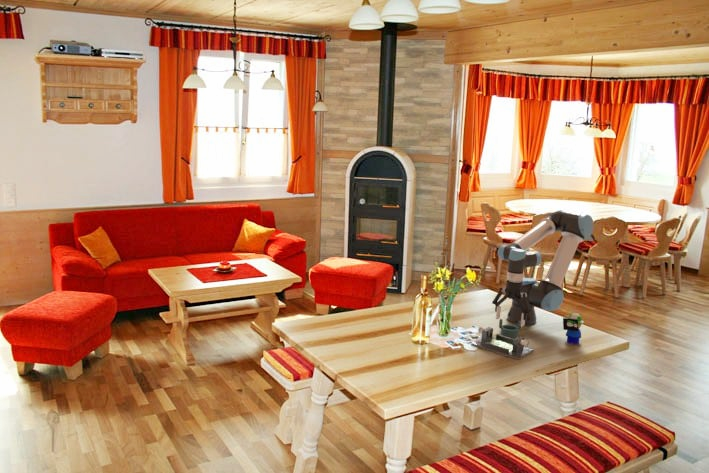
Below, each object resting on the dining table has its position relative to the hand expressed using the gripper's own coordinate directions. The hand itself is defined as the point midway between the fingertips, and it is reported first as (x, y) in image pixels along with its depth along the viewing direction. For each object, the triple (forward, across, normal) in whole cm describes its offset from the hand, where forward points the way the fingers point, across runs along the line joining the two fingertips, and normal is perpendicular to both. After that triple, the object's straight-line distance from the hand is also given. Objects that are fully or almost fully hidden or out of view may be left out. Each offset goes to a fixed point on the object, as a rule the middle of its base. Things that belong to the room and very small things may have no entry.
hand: (509, 322), depth 307 cm
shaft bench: (+8, +5, -15) cm, 18 cm away
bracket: (+8, 0, +1) cm, 8 cm away
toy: (+8, +25, +18) cm, 32 cm away
